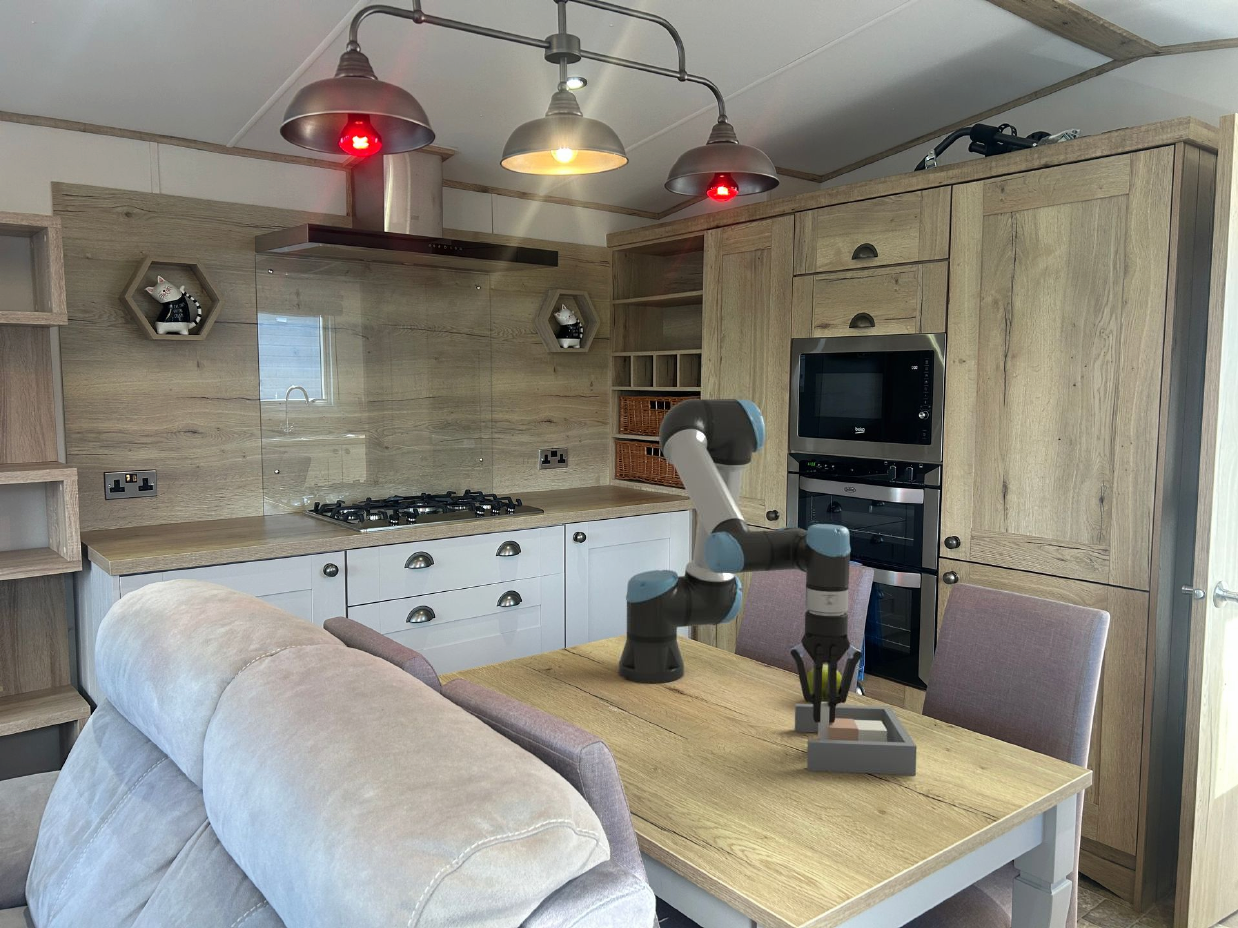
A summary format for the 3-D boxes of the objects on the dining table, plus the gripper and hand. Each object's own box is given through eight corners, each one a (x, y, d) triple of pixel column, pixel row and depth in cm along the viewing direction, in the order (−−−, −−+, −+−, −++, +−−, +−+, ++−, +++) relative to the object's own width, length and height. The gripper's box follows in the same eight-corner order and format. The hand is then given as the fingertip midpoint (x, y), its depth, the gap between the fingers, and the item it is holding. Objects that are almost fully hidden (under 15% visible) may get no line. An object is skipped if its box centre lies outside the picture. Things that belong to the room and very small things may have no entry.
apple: (828, 694, 196) (829, 658, 196) (852, 708, 188) (853, 670, 187) (796, 698, 194) (797, 661, 193) (819, 711, 185) (820, 673, 184)
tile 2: (852, 746, 167) (853, 719, 167) (880, 747, 167) (881, 720, 166) (857, 756, 162) (858, 729, 162) (886, 758, 162) (887, 730, 161)
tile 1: (825, 744, 167) (825, 717, 167) (852, 745, 167) (853, 718, 167) (829, 754, 163) (829, 727, 162) (857, 755, 162) (858, 728, 162)
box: (794, 728, 175) (795, 703, 175) (889, 732, 174) (890, 706, 174) (808, 770, 155) (808, 742, 155) (915, 774, 154) (916, 746, 154)
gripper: (792, 615, 160) (789, 745, 162) (867, 617, 159) (863, 748, 161) (787, 605, 167) (784, 730, 169) (859, 607, 166) (855, 733, 168)
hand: (823, 739), depth 165 cm, fingers closed
